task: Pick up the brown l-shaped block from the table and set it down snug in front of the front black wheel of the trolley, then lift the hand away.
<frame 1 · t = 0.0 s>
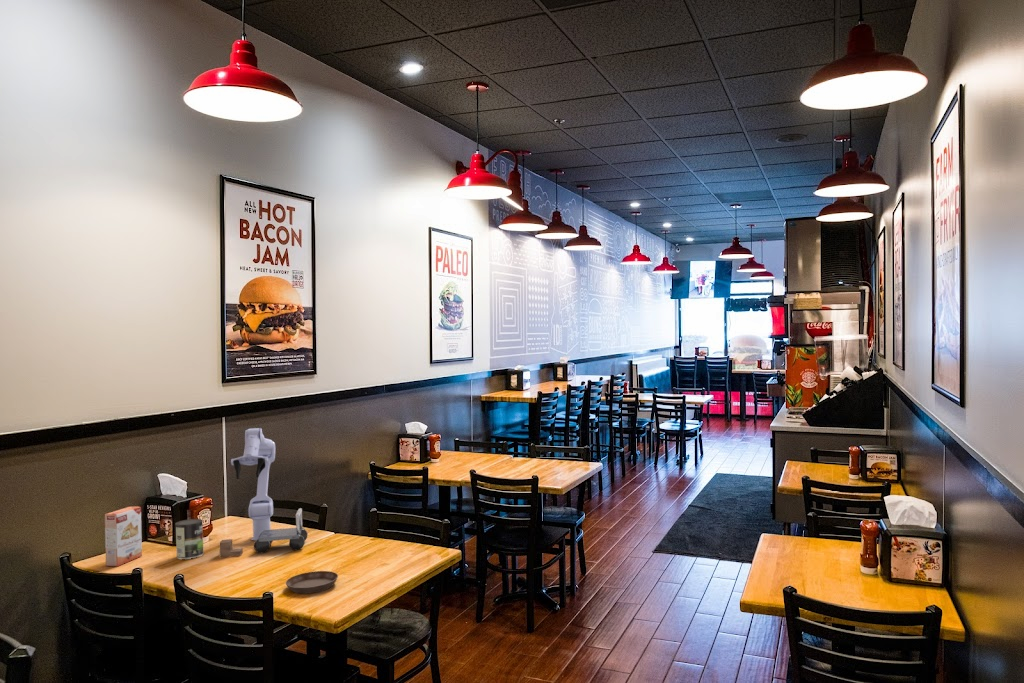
hand: (247, 476, 291), 32 cm above the table, tool tilted 50°, fingers open, 7 cm apart
plant saucer: (312, 587, 250), on the table
cracker box: (124, 561, 290), on the table
brown l-shaped block: (231, 555, 293), on the table
coffee can: (190, 556, 294), on the table
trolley: (281, 547, 302), on the table
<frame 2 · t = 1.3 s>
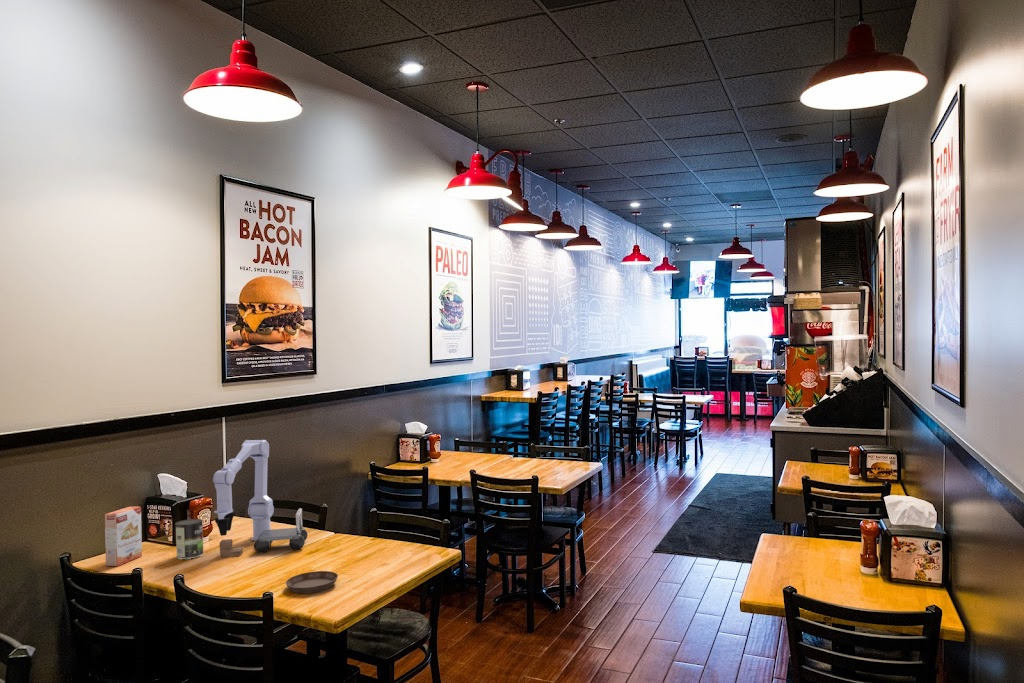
hand: (225, 532, 293), 9 cm above the table, tool pointing down, fingers open, 7 cm apart
nothing on the table moved.
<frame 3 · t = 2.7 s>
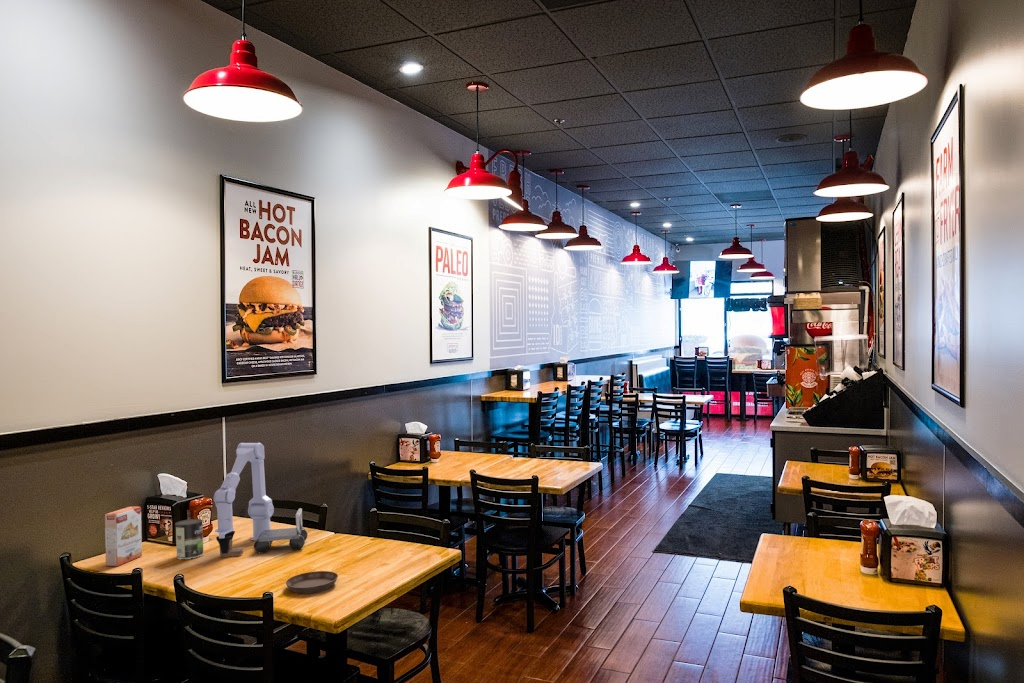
hand: (226, 551, 293), 2 cm above the table, tool pointing down, fingers closed on brown l-shaped block, 4 cm apart
brown l-shaped block: (231, 555, 293), on the table, touching gripper
everything else where it was.
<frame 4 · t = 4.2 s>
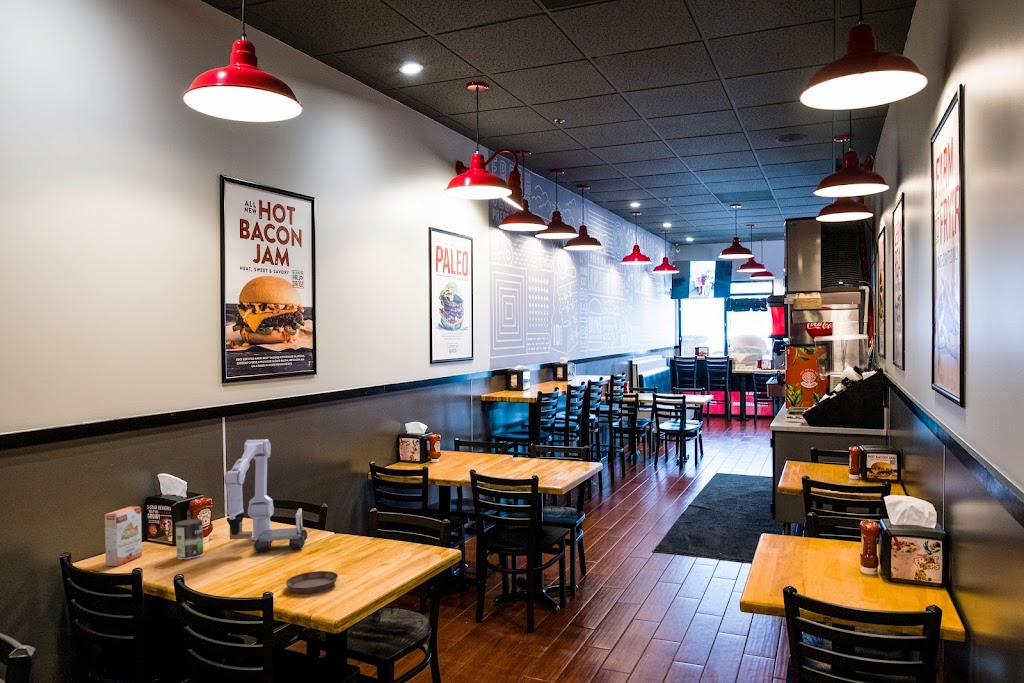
hand: (236, 533, 293), 9 cm above the table, tool pointing down, fingers closed on brown l-shaped block, 4 cm apart
brown l-shaped block: (241, 537, 294), point 7 cm above the table, touching gripper
everything else where it was.
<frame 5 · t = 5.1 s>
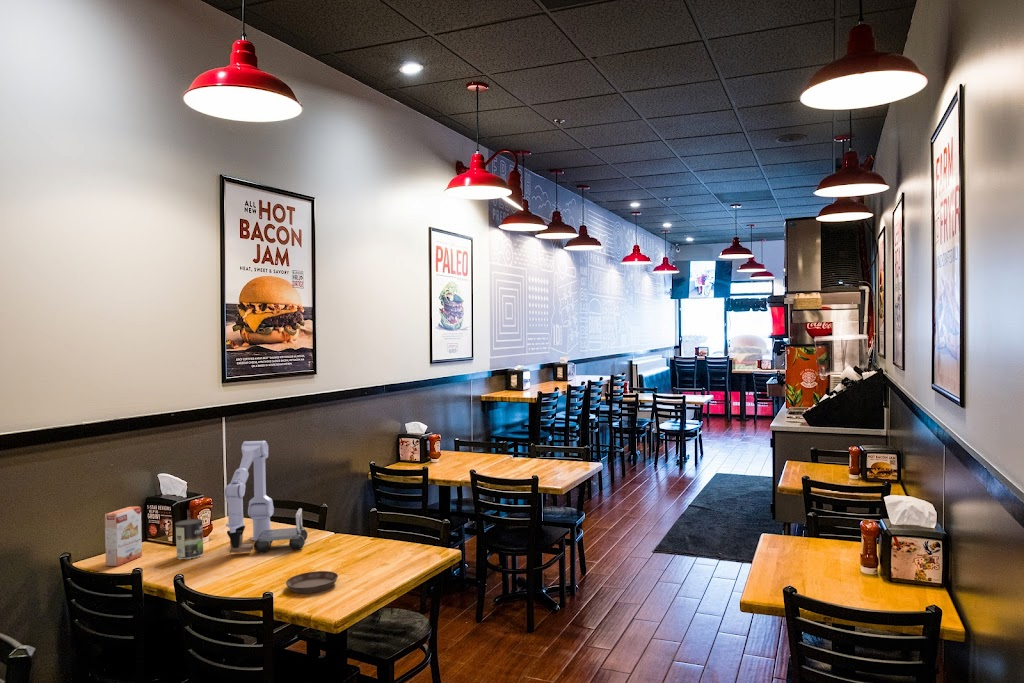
hand: (236, 546, 293), 3 cm above the table, tool pointing down, fingers closed on brown l-shaped block, 4 cm apart
brown l-shaped block: (241, 550, 294), point 1 cm above the table, touching gripper
everything else where it was.
when the fingers open (3 cm above the table, at t = 5.8 s): brown l-shaped block stays where it is, on the table.
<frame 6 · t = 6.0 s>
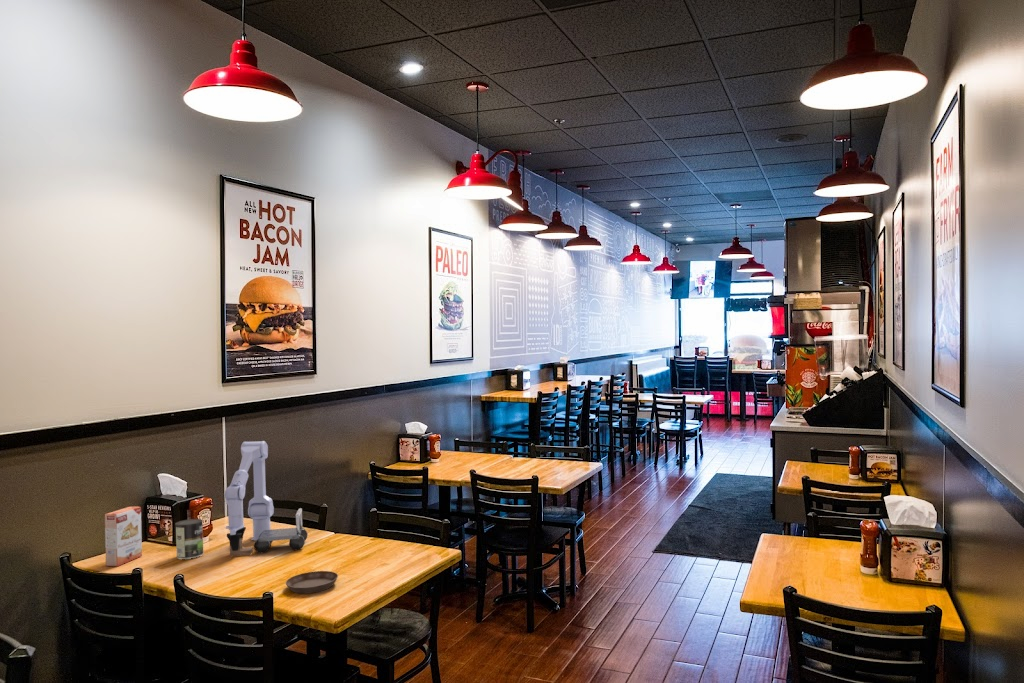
hand: (237, 548, 293), 3 cm above the table, tool pointing down, fingers open, 6 cm apart
brown l-shaped block: (241, 554, 294), on the table
everything else where it was.
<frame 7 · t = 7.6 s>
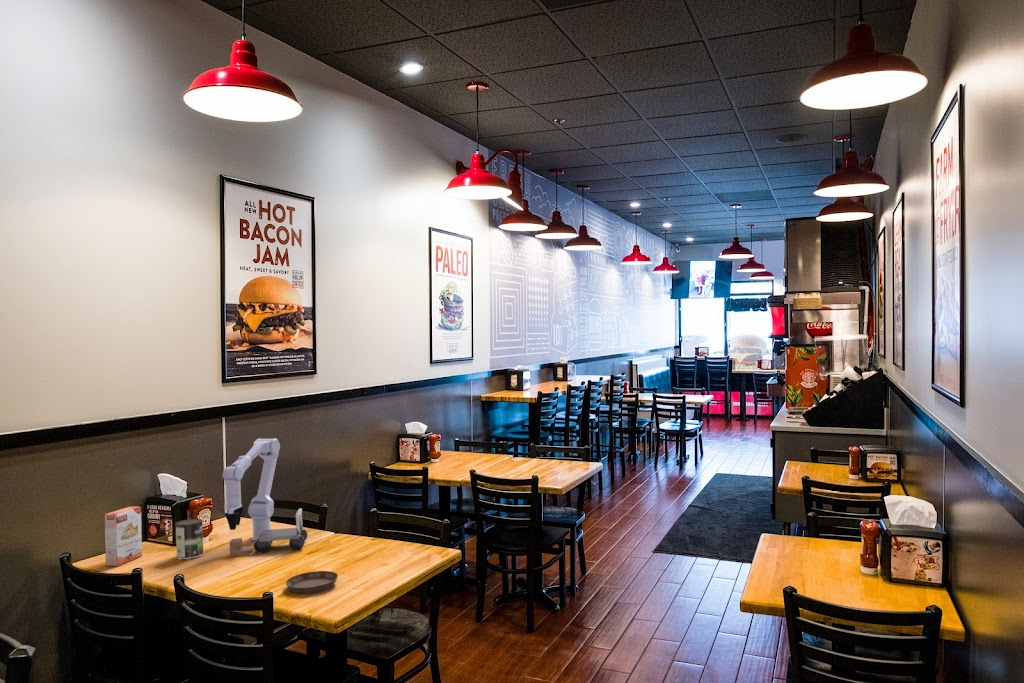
hand: (234, 527, 301), 9 cm above the table, tool pointing down, fingers open, 7 cm apart
nothing on the table moved.
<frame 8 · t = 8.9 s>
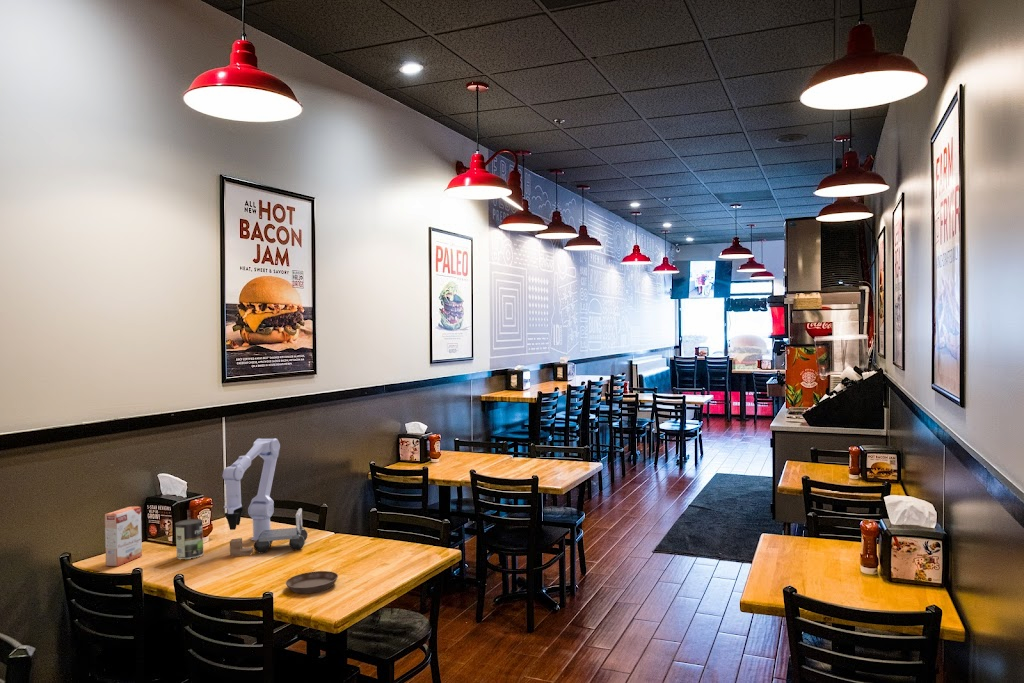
hand: (234, 527, 301), 9 cm above the table, tool pointing down, fingers open, 7 cm apart
nothing on the table moved.
at the end: brown l-shaped block 0.2 cm from the target spot on the table beside the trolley, on the table; brown l-shaped block tilted 0°; the gripper is holding nothing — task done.
